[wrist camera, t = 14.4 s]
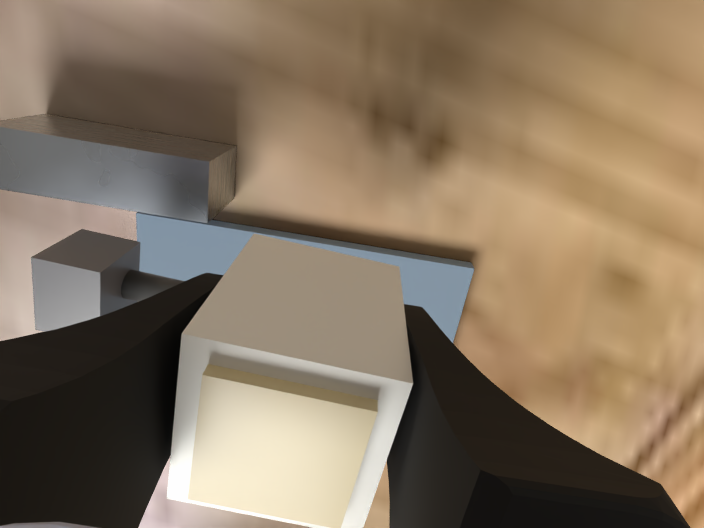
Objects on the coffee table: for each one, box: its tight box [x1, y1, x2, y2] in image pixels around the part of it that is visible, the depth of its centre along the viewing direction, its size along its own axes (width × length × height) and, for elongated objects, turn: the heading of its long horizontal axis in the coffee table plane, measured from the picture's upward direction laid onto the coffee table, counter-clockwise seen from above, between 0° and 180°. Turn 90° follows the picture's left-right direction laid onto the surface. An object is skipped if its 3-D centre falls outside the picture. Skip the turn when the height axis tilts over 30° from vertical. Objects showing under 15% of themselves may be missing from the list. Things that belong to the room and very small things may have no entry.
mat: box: [136, 212, 474, 343], centre depth 19 cm, size 13×7×1 cm, turn 81°
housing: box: [0, 114, 237, 223], centre depth 14 cm, size 7×10×3 cm
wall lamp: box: [31, 229, 413, 528], centre depth 11 cm, size 9×4×5 cm, turn 77°
